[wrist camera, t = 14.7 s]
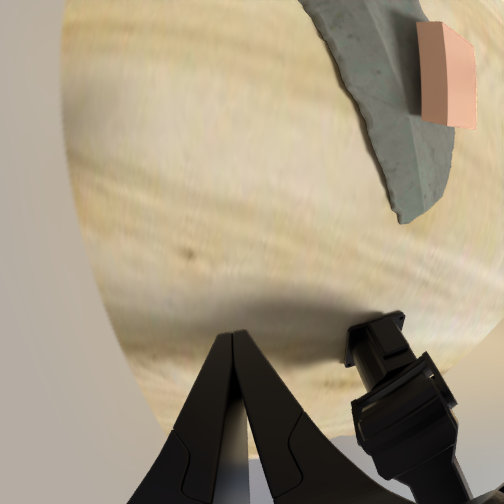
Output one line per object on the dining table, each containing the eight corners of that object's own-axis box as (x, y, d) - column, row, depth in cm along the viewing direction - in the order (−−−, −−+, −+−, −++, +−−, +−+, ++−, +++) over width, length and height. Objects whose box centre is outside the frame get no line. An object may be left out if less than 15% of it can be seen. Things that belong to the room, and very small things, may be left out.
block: (415, 22, 11) (452, 44, 13) (421, 120, 15) (455, 124, 17) (441, 21, 9) (473, 45, 12) (447, 126, 13) (476, 129, 15)
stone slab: (374, -49, 10) (266, -39, 11) (394, -59, 8) (280, -57, 8) (456, 178, 22) (384, 228, 22) (477, 187, 19) (405, 242, 20)
